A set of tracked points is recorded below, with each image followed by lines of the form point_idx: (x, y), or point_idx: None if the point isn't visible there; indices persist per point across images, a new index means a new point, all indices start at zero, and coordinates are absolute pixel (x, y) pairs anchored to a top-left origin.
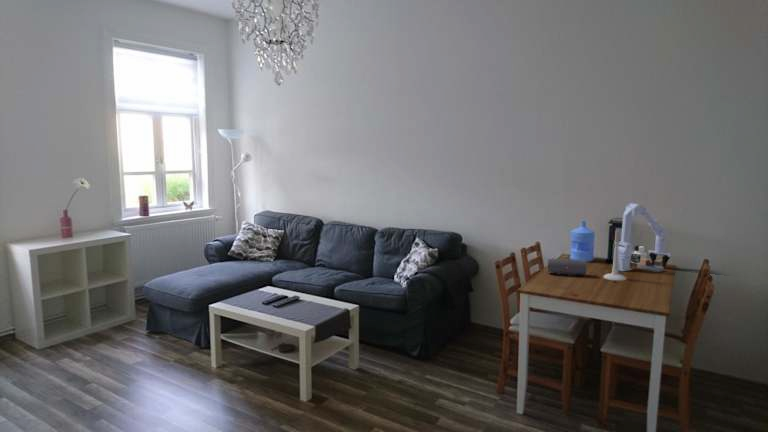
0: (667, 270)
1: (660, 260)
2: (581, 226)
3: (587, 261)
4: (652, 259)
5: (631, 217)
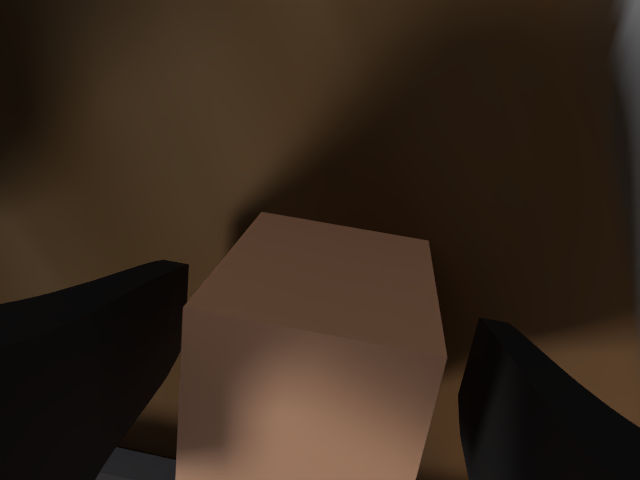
0: None
1: (332, 421)
2: None
3: None
4: (80, 477)
5: None
